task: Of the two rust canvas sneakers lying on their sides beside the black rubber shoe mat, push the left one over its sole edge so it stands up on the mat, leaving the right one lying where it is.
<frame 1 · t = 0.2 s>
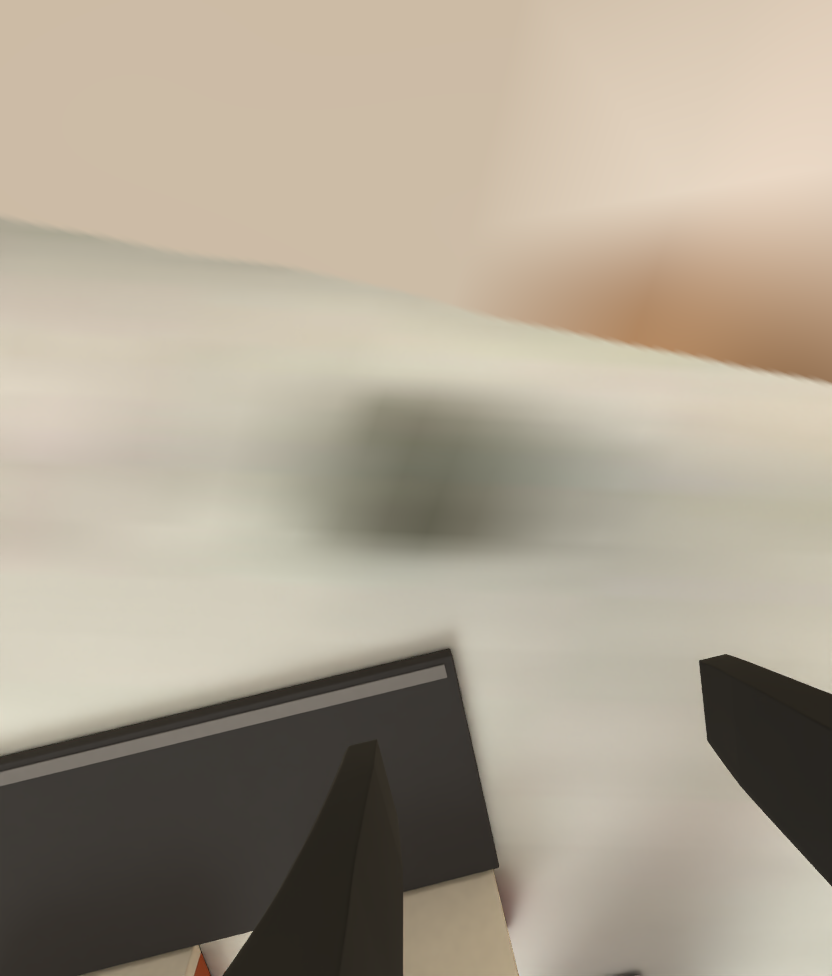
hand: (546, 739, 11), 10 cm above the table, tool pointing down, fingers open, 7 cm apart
shoe mat: (162, 835, 22), on the table
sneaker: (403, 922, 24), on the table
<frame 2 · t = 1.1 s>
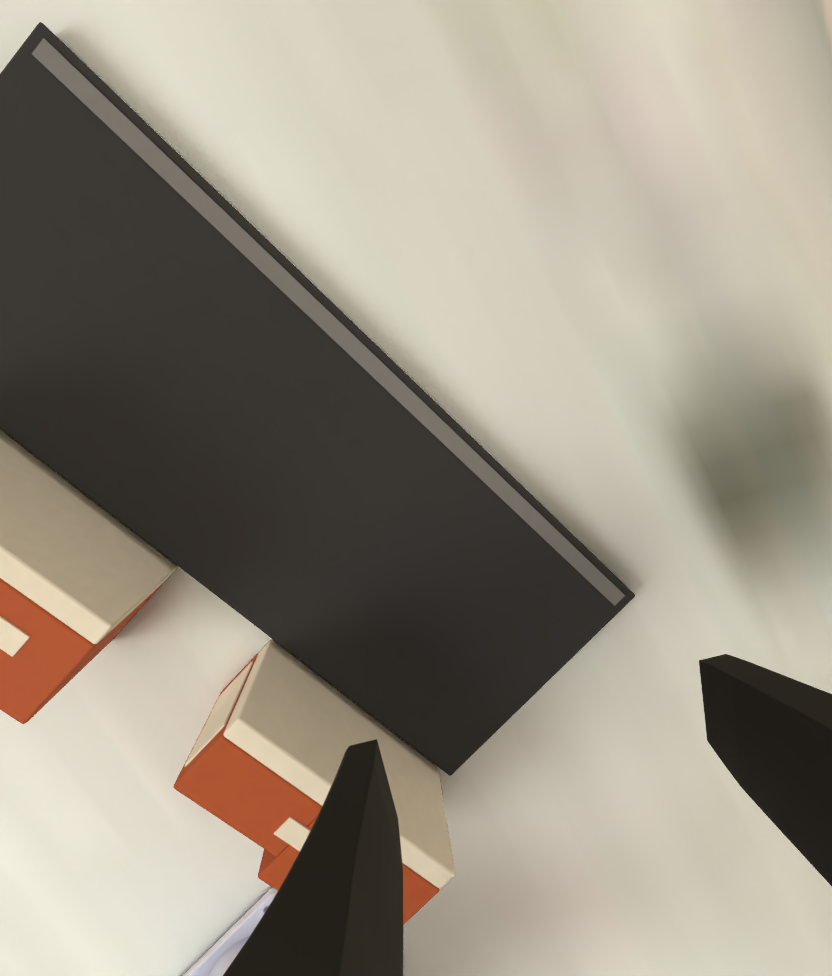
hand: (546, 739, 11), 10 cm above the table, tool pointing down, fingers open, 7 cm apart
shoe mat: (283, 461, 19), on the table
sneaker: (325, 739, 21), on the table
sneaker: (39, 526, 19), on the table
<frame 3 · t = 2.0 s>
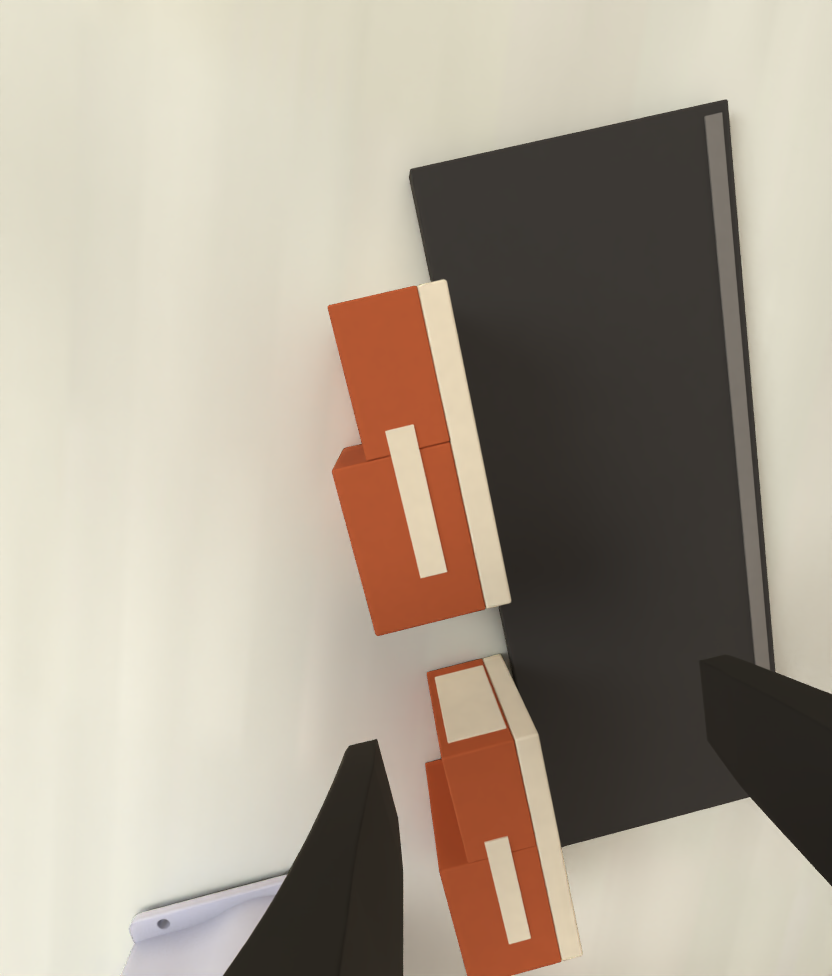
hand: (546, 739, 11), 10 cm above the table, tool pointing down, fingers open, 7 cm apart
shoe mat: (620, 523, 20), on the table
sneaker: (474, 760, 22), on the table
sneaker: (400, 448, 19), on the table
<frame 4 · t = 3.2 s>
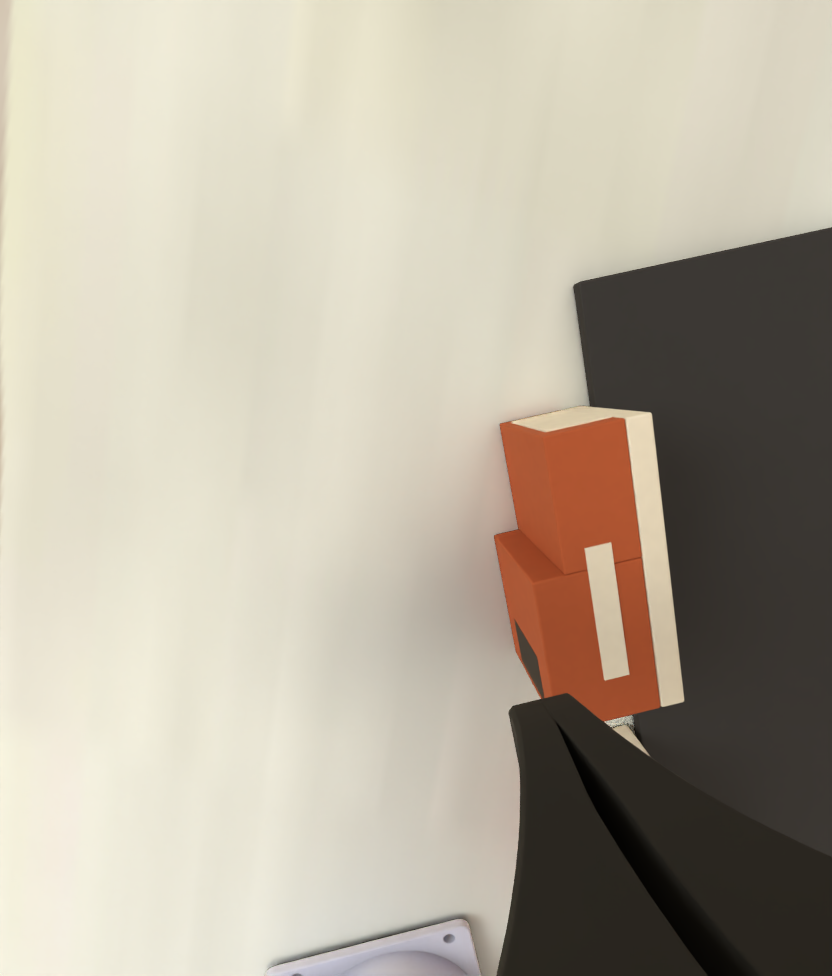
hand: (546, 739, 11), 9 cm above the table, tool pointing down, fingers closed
shoe mat: (746, 603, 21), on the table
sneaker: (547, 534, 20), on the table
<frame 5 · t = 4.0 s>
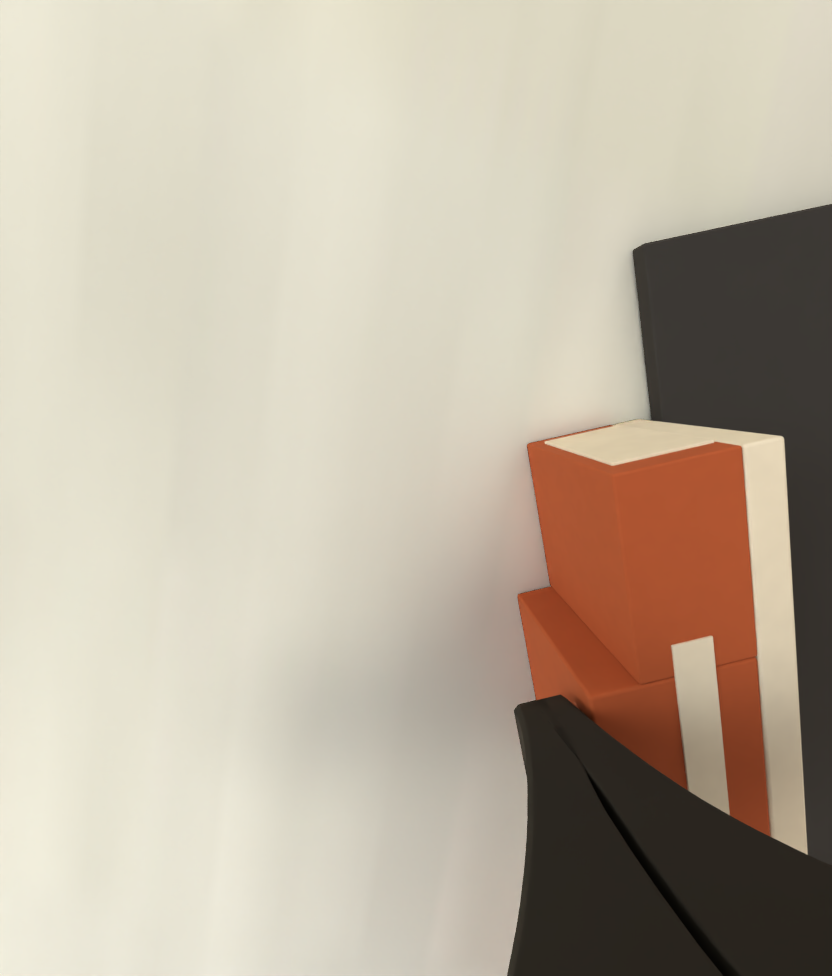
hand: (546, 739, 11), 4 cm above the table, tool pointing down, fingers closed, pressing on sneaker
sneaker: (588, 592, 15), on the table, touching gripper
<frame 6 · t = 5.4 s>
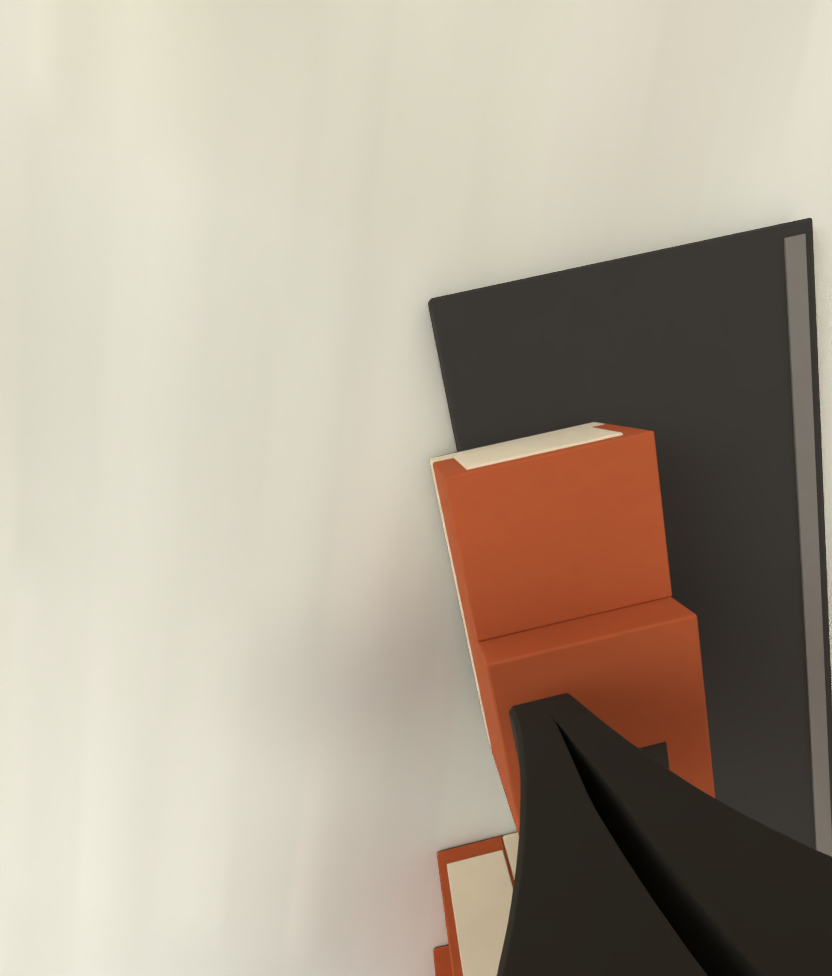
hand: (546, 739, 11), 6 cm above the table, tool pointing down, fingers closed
shoe mat: (665, 687, 17), on the table
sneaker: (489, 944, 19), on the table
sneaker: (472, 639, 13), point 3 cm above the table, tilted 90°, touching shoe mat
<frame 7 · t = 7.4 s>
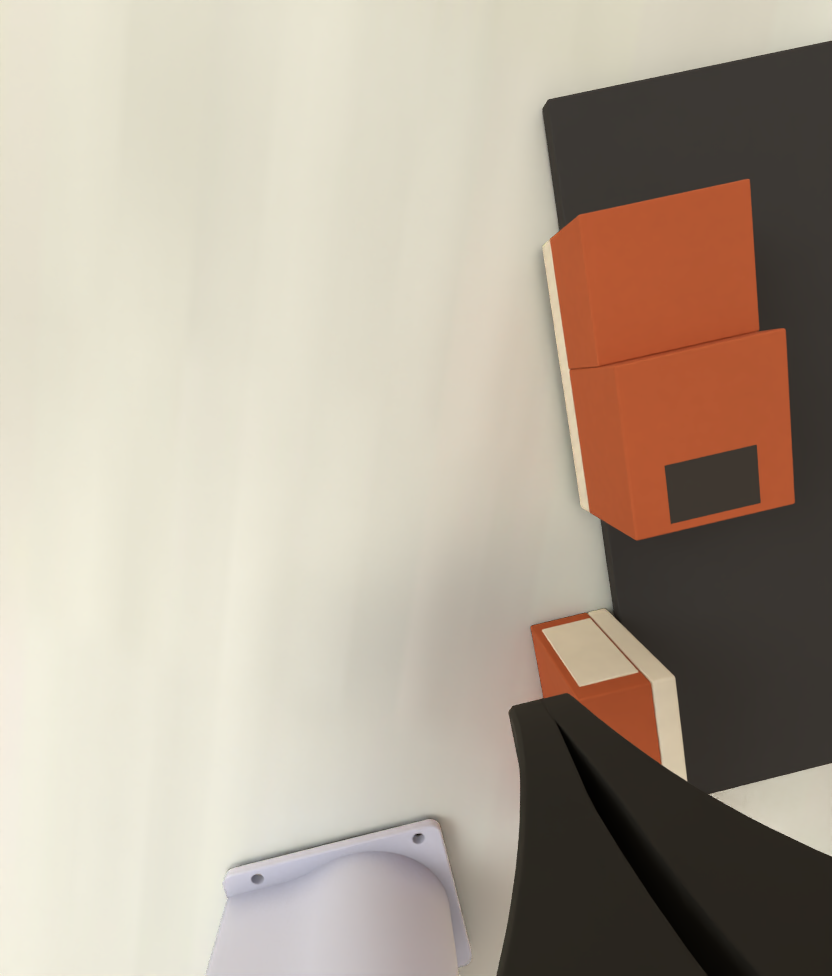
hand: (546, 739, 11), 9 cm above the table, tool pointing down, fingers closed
shoe mat: (732, 475, 20), on the table
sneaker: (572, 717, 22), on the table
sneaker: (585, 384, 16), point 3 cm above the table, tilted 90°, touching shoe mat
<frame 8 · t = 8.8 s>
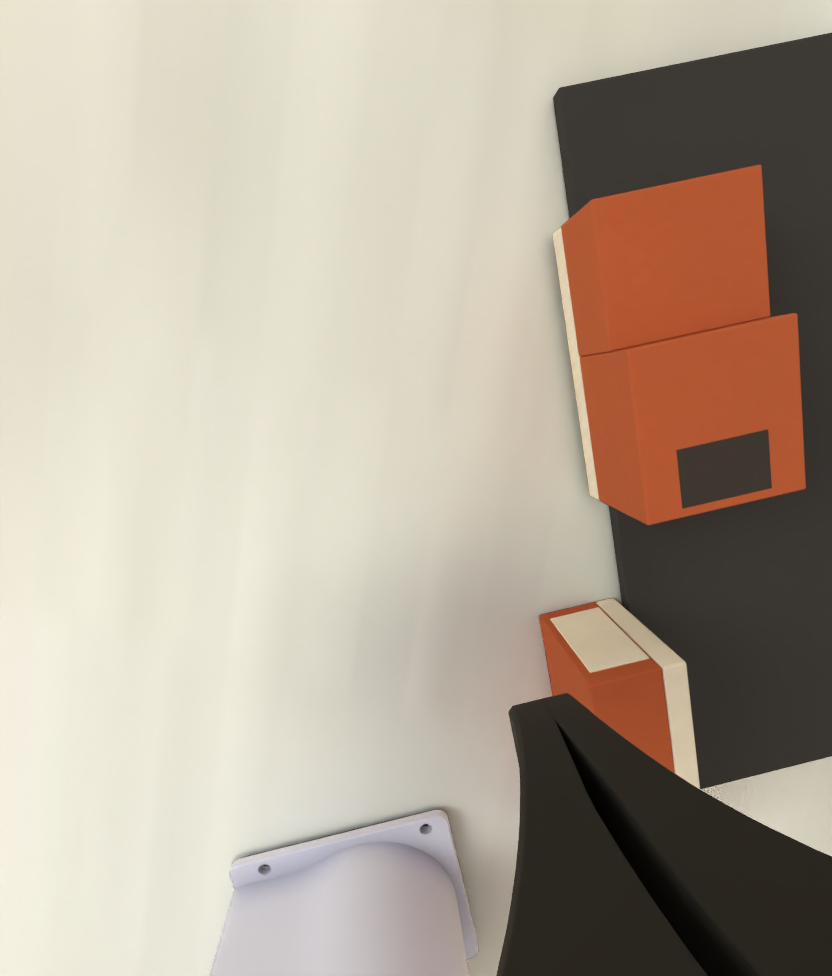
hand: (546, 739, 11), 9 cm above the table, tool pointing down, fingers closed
shoe mat: (740, 464, 20), on the table
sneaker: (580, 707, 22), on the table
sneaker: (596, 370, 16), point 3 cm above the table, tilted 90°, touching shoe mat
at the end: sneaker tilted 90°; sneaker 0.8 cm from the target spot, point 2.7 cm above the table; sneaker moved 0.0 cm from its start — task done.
